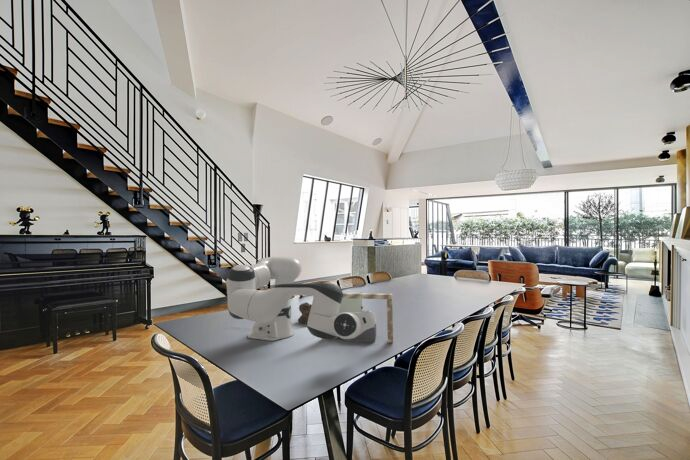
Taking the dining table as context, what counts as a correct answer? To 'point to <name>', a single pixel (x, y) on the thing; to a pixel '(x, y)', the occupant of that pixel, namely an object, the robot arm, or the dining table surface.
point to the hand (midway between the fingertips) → (352, 326)
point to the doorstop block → (365, 335)
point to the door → (351, 305)
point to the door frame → (377, 296)
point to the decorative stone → (304, 312)
